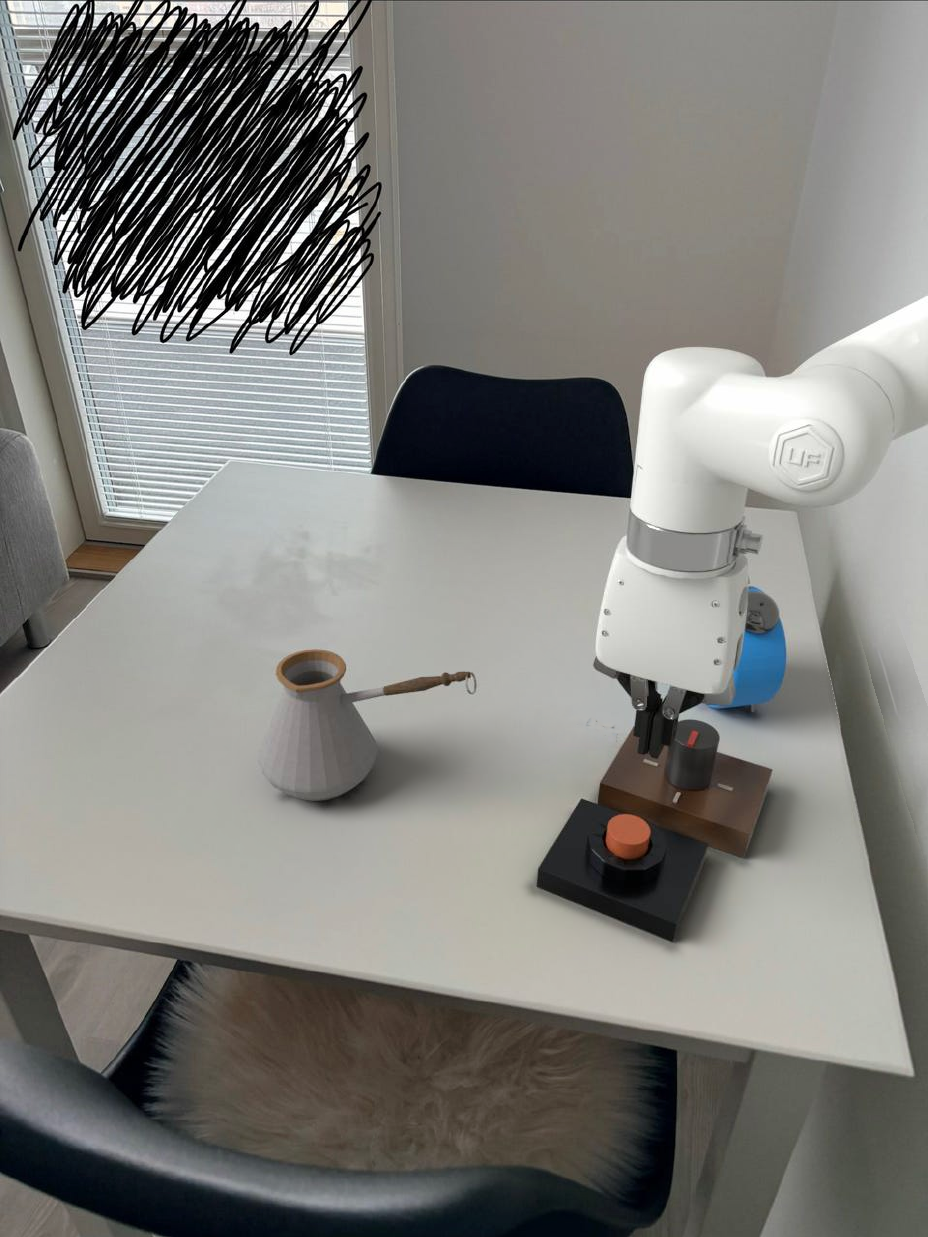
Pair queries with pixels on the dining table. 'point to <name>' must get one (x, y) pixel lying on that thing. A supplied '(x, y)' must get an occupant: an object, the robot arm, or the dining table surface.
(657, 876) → the black button base
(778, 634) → the alarm clock
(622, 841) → the push knob
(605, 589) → the robot arm
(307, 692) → the coffee pot
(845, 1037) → the dining table surface
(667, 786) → the dial panel
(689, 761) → the dial
